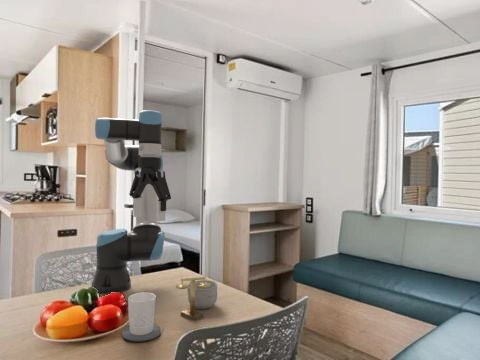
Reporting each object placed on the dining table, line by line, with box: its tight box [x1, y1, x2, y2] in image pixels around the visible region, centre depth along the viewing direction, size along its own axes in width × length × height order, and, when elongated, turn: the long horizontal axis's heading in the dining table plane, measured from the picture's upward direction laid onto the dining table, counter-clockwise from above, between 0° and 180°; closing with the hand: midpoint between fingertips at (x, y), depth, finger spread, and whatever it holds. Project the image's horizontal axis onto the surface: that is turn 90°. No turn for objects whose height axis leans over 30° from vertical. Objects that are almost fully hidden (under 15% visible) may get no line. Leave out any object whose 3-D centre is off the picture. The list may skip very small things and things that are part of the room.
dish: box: [121, 323, 162, 343], centre depth 107 cm, size 11×11×1 cm
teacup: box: [187, 278, 218, 310], centre depth 131 cm, size 14×11×8 cm
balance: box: [175, 275, 210, 322], centre depth 120 cm, size 15×4×14 cm, turn 50°
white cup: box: [127, 291, 157, 335], centre depth 107 cm, size 8×8×10 cm
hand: (148, 218), depth 124 cm, fingers open, 13 cm apart
